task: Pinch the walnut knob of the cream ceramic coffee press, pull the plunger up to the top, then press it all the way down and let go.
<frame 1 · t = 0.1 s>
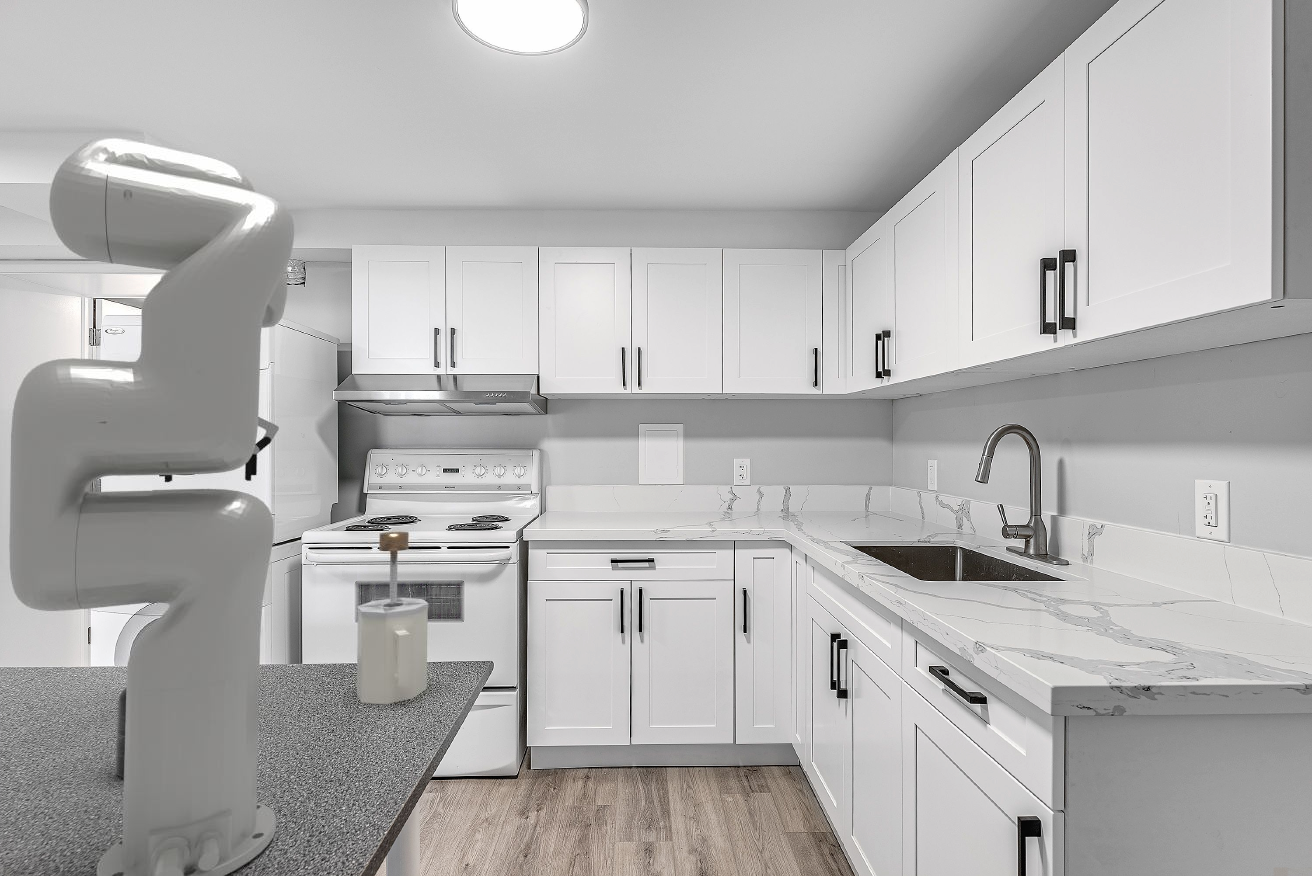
hand: (209, 481, 94), 31 cm above the countertop, tool pointing down, fingers open, 9 cm apart
press pot: (392, 692, 94), on the countertop
supplement bottle: (155, 767, 72), on the countertop
plunger: (393, 591, 95), point 15 cm above the countertop, slide at 3.0 cm
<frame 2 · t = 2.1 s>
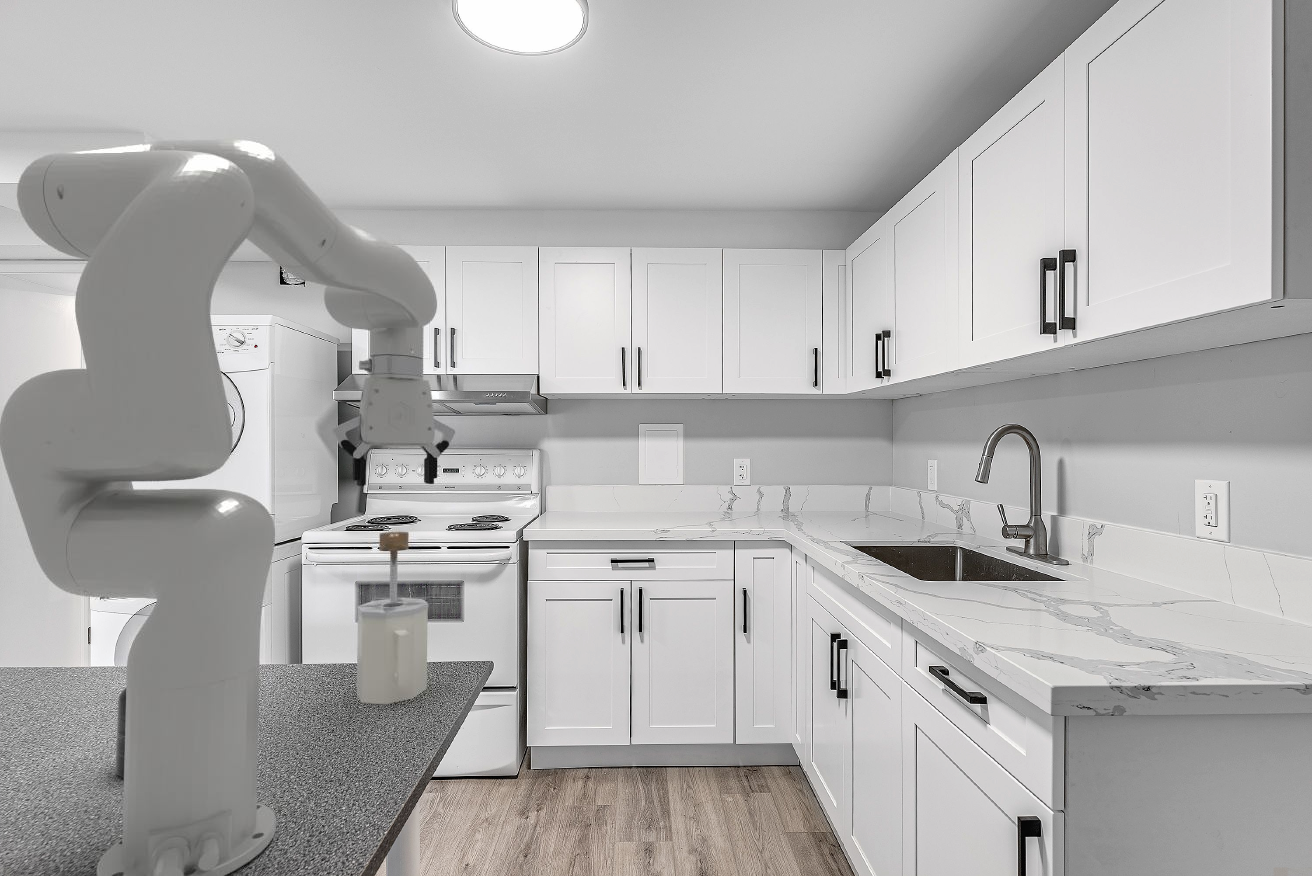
hand: (396, 484, 96), 31 cm above the countertop, tool pointing down, fingers open, 9 cm apart
nothing on the countertop moved.
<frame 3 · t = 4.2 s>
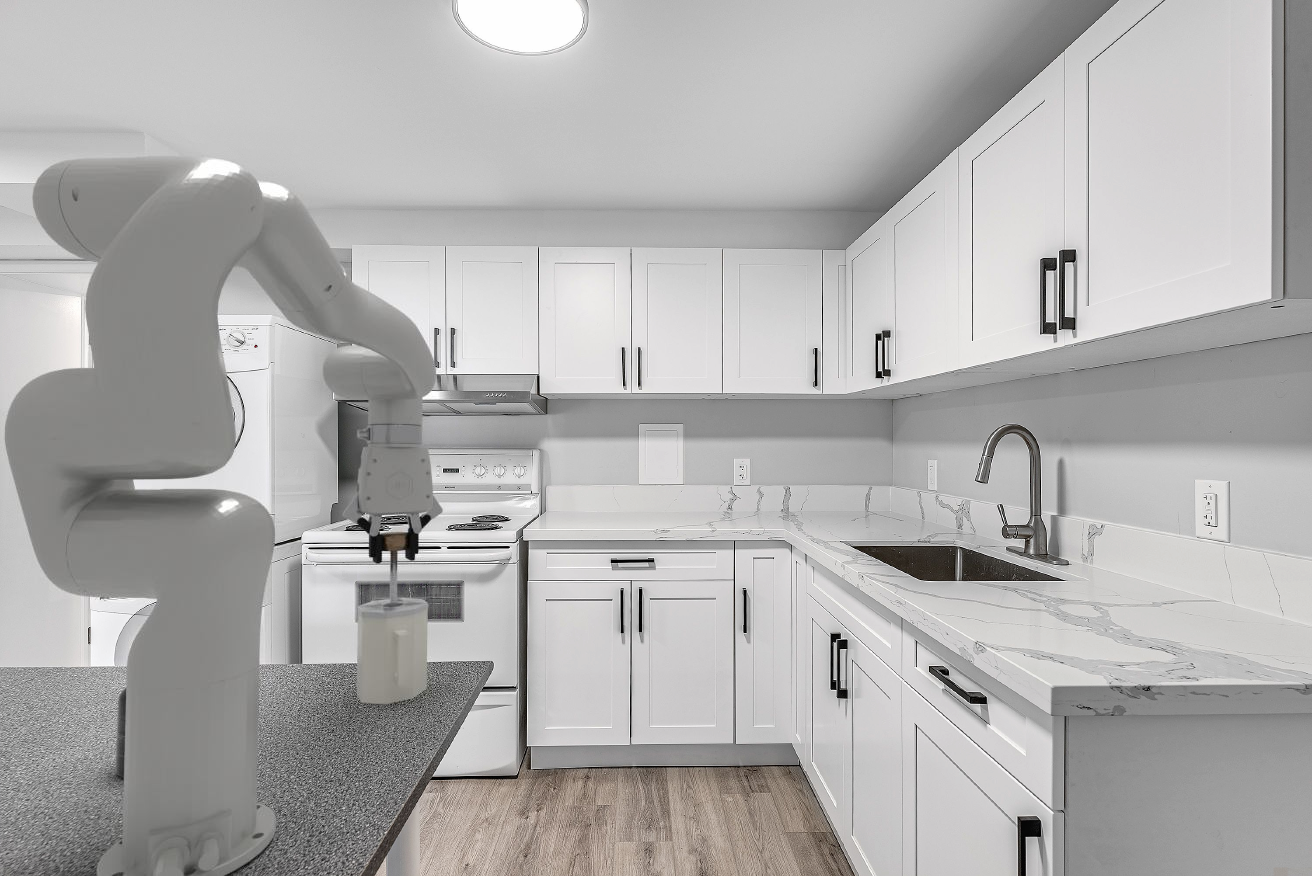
hand: (393, 559, 95), 19 cm above the countertop, tool pointing down, fingers closed on plunger, 4 cm apart
plunger: (393, 592, 95), point 15 cm above the countertop, slide at 3.0 cm, touching gripper
everything else where it was.
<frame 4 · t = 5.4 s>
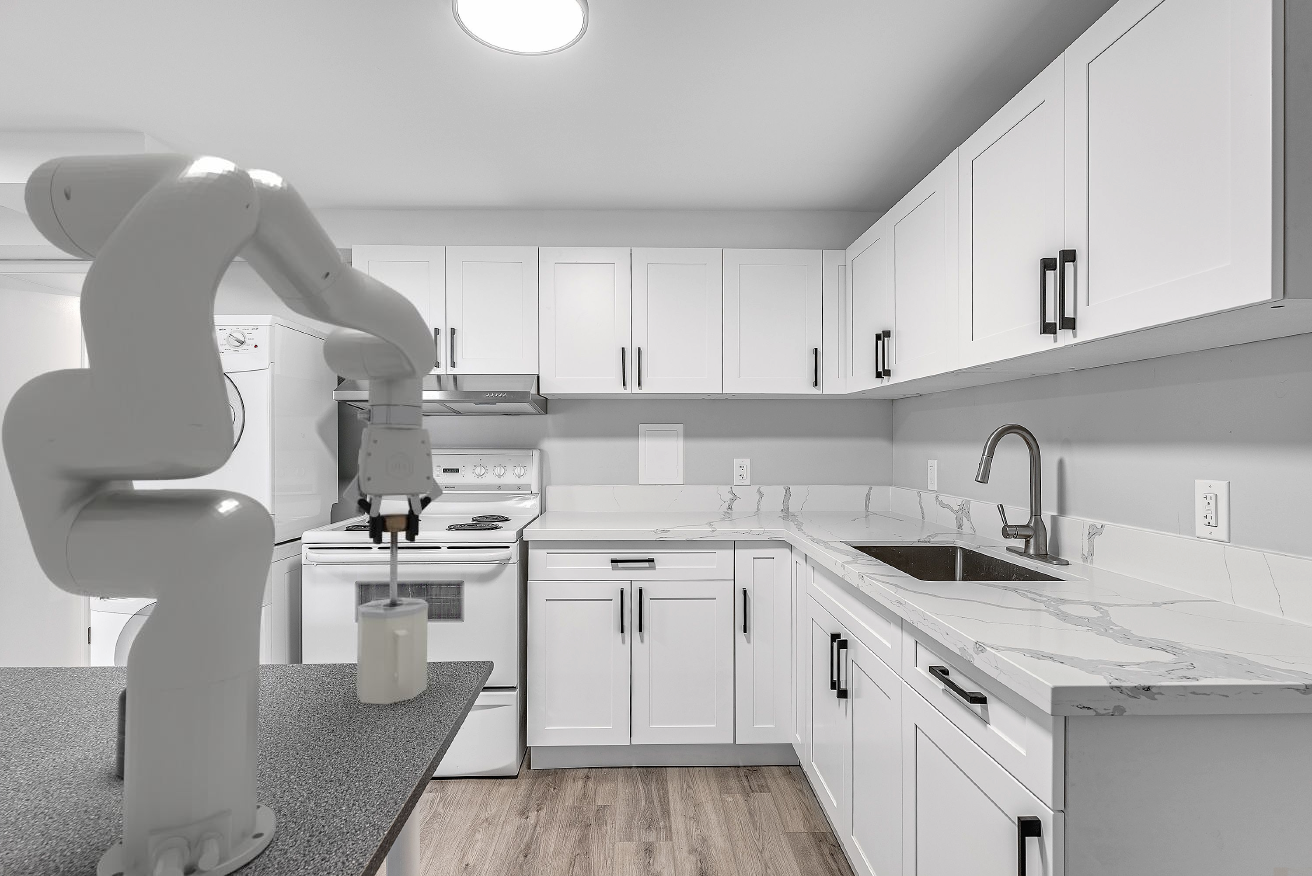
hand: (394, 540, 95), 22 cm above the countertop, tool pointing down, fingers closed on plunger, 4 cm apart
plunger: (393, 573, 95), point 17 cm above the countertop, slide at 0.2 cm, touching gripper
everything else where it was.
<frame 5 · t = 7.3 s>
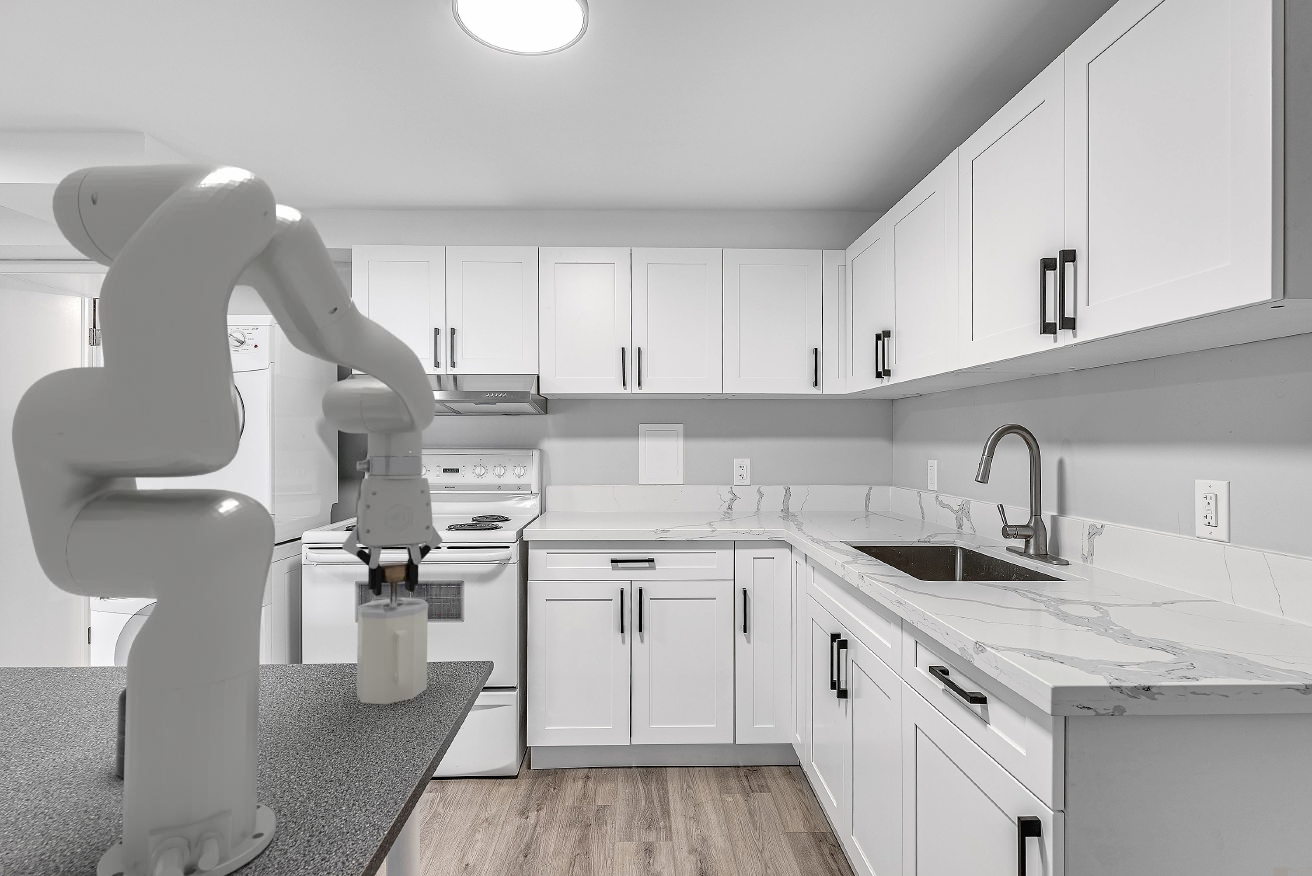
hand: (393, 590, 95), 15 cm above the countertop, tool pointing down, fingers closed on plunger, 4 cm apart
plunger: (393, 623, 95), point 10 cm above the countertop, slide at 7.7 cm, touching gripper
everything else where it was.
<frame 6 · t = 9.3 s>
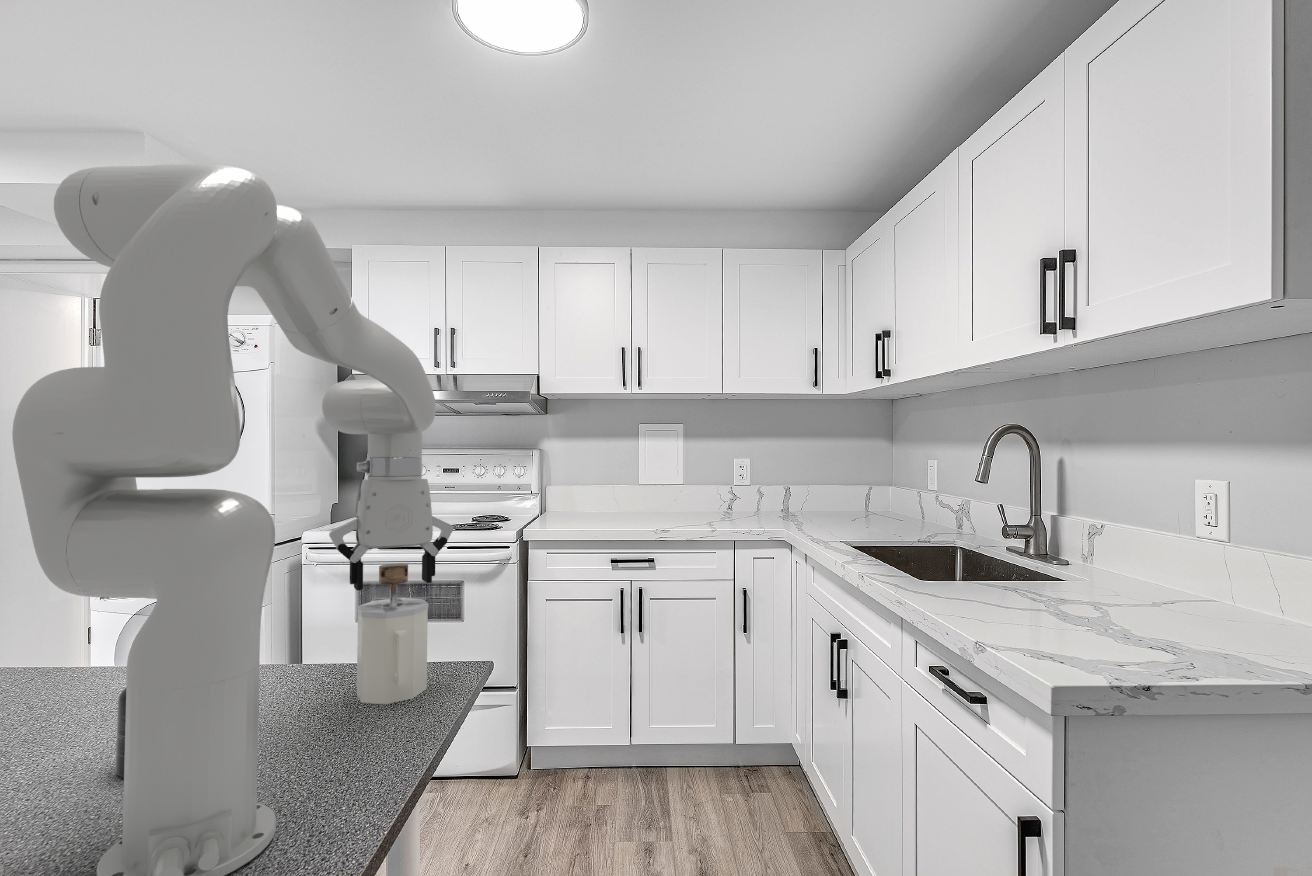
hand: (393, 585, 95), 16 cm above the countertop, tool pointing down, fingers open, 9 cm apart
plunger: (393, 624, 95), point 10 cm above the countertop, slide at 7.8 cm
everything else where it was.
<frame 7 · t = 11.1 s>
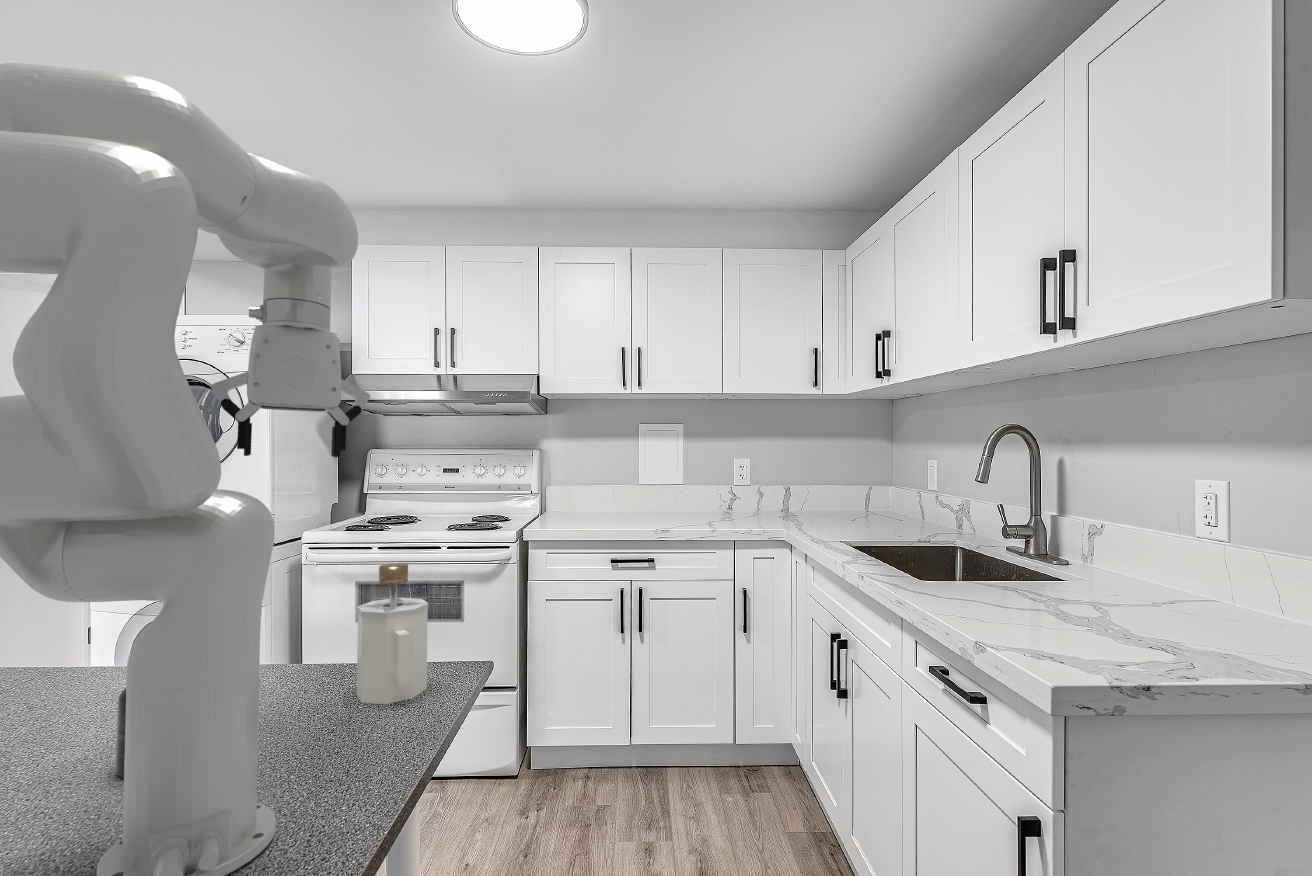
hand: (292, 456, 80), 35 cm above the countertop, tool pointing down, fingers open, 9 cm apart
nothing on the countertop moved.
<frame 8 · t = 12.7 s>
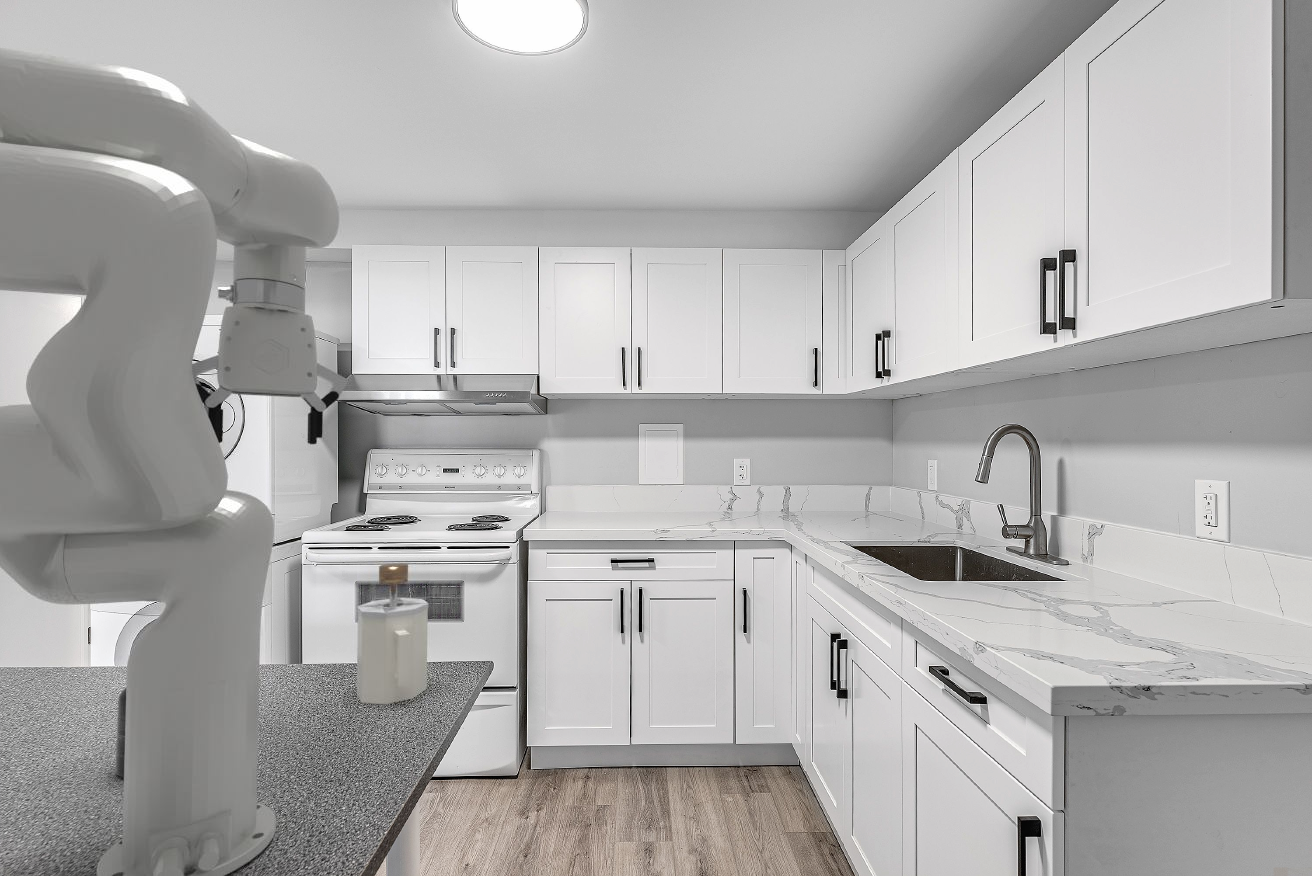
hand: (267, 443, 77), 36 cm above the countertop, tool pointing down, fingers open, 9 cm apart
nothing on the countertop moved.
at the end: plunger slide at 7.8 cm; the gripper is holding nothing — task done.
